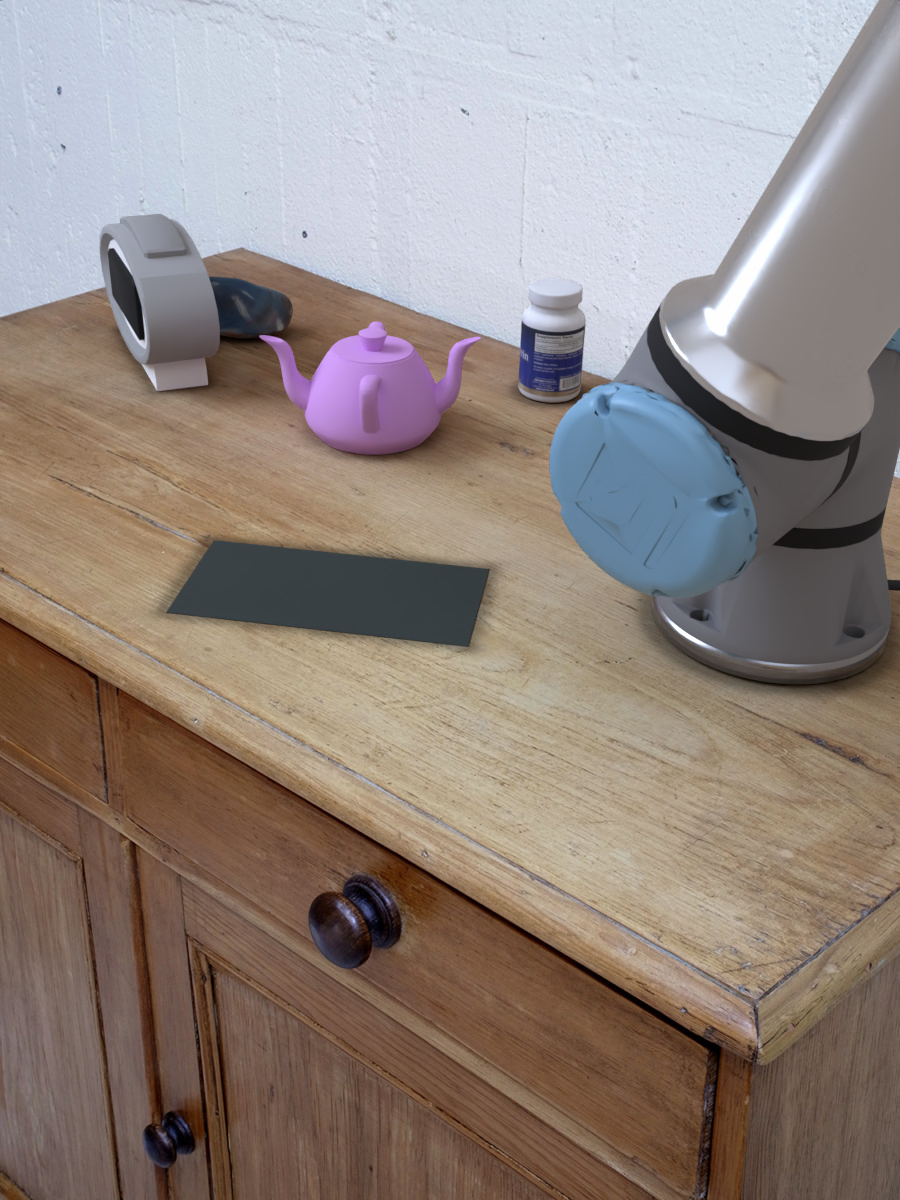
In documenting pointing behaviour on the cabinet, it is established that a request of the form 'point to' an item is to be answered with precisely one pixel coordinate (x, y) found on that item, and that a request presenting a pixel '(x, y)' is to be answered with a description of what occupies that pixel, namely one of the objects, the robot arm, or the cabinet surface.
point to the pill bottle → (552, 341)
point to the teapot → (372, 391)
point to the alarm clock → (161, 298)
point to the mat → (334, 592)
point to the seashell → (249, 308)
